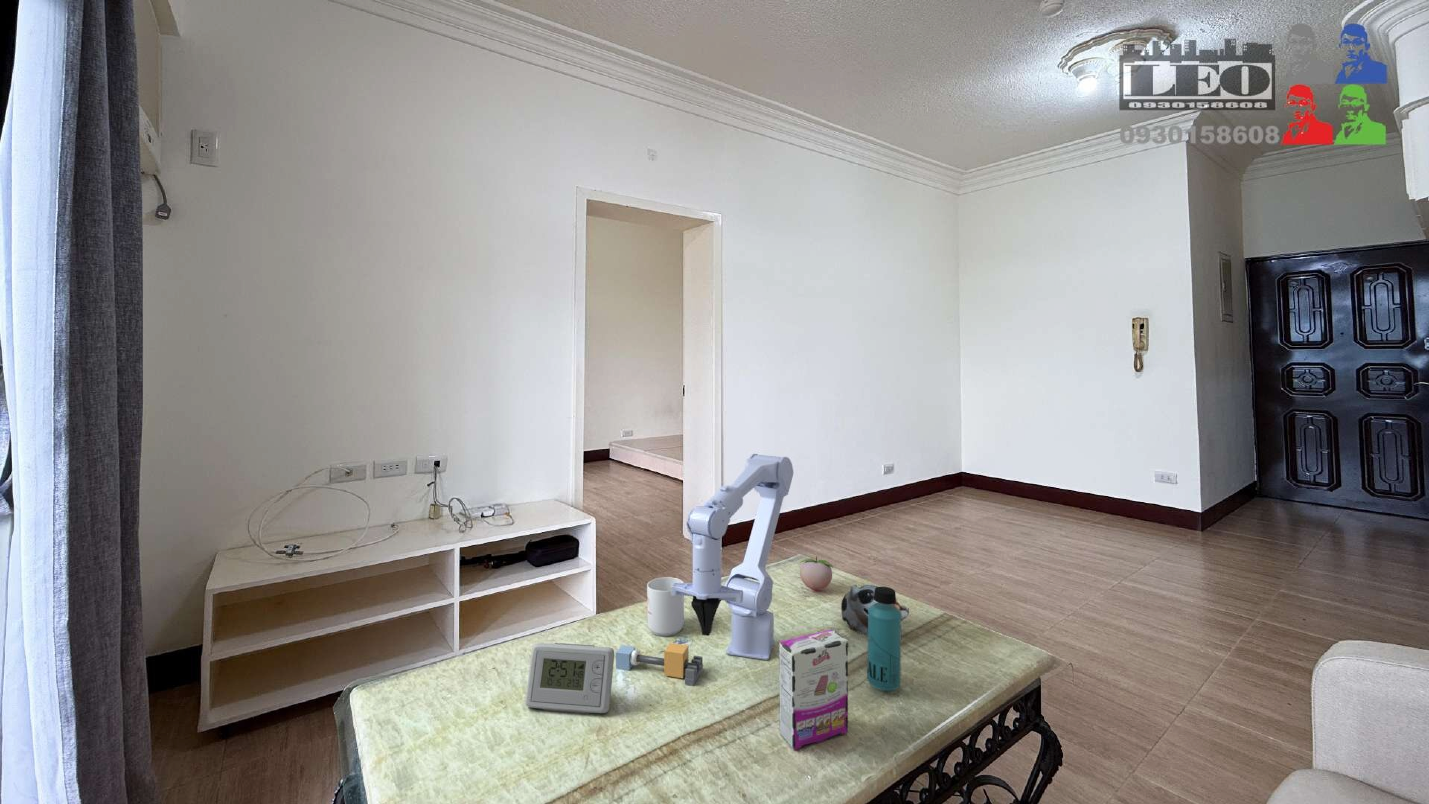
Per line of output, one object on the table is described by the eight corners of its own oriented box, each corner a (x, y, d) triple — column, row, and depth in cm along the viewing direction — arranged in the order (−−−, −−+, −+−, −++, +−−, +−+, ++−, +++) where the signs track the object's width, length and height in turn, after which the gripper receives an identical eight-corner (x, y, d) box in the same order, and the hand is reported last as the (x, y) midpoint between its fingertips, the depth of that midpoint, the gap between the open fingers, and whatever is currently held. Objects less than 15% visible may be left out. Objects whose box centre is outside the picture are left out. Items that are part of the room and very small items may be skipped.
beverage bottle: (900, 683, 107) (902, 584, 106) (901, 702, 101) (903, 597, 100) (867, 677, 109) (868, 580, 108) (865, 695, 103) (866, 593, 102)
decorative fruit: (799, 596, 149) (799, 560, 149) (799, 584, 157) (799, 551, 157) (833, 598, 148) (834, 562, 147) (832, 587, 156) (832, 553, 155)
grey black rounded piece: (903, 619, 135) (918, 582, 128) (893, 657, 126) (909, 619, 118) (845, 593, 141) (857, 556, 133) (831, 627, 131) (843, 589, 124)
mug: (689, 633, 127) (689, 587, 127) (653, 640, 124) (653, 593, 123) (672, 613, 138) (672, 570, 138) (639, 619, 135) (639, 575, 134)
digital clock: (519, 709, 98) (519, 652, 98) (549, 682, 107) (549, 630, 106) (597, 727, 93) (597, 668, 93) (622, 698, 102) (622, 643, 101)
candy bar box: (831, 717, 96) (832, 627, 95) (848, 734, 92) (850, 640, 91) (777, 733, 92) (777, 639, 91) (792, 752, 87) (793, 653, 86)
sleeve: (688, 669, 111) (688, 645, 111) (682, 678, 108) (682, 653, 108) (670, 666, 112) (670, 642, 112) (664, 675, 109) (664, 651, 109)
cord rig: (702, 669, 112) (702, 653, 112) (693, 685, 106) (693, 669, 106) (625, 656, 117) (625, 641, 117) (612, 672, 111) (612, 656, 110)
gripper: (665, 569, 105) (665, 637, 106) (737, 577, 101) (737, 647, 102) (677, 558, 112) (677, 621, 113) (745, 565, 108) (745, 631, 109)
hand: (706, 633), depth 108 cm, fingers closed
